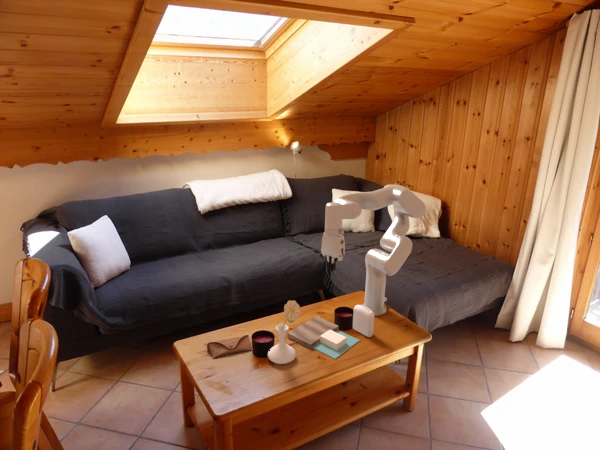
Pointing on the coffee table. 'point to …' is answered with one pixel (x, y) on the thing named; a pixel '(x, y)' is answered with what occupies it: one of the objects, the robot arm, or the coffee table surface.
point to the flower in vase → (282, 350)
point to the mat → (337, 353)
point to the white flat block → (333, 339)
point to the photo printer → (363, 320)
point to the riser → (311, 331)
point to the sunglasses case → (229, 346)
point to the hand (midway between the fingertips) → (331, 270)
